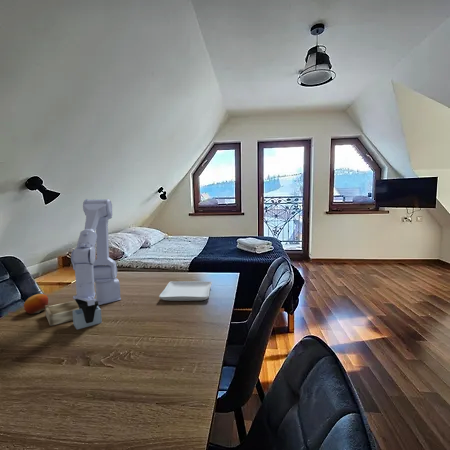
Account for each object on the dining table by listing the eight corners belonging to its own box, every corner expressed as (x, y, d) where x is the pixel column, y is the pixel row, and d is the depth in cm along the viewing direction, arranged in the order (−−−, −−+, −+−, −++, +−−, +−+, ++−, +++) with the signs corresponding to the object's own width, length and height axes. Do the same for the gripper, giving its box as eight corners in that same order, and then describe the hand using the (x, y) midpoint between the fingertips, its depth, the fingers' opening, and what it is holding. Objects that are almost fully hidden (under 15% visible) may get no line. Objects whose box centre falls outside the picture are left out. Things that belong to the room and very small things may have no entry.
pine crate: (86, 306, 112) (85, 296, 112) (93, 314, 104) (92, 304, 104) (45, 315, 104) (45, 305, 103) (50, 325, 95) (49, 314, 95)
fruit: (40, 313, 103) (30, 294, 103) (26, 322, 105) (16, 304, 105) (57, 304, 111) (48, 287, 111) (44, 313, 112) (34, 296, 113)
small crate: (97, 317, 101) (96, 304, 101) (101, 322, 97) (101, 309, 97) (73, 324, 96) (72, 310, 96) (76, 329, 92) (75, 315, 92)
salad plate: (208, 303, 115) (208, 295, 114) (158, 304, 115) (158, 296, 115) (212, 287, 136) (212, 280, 135) (169, 287, 136) (169, 281, 136)
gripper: (68, 279, 98) (70, 316, 100) (76, 289, 87) (79, 330, 89) (89, 276, 103) (91, 310, 104) (100, 284, 92) (102, 323, 93)
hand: (87, 319), depth 97 cm, fingers closed on small crate, 5 cm apart
